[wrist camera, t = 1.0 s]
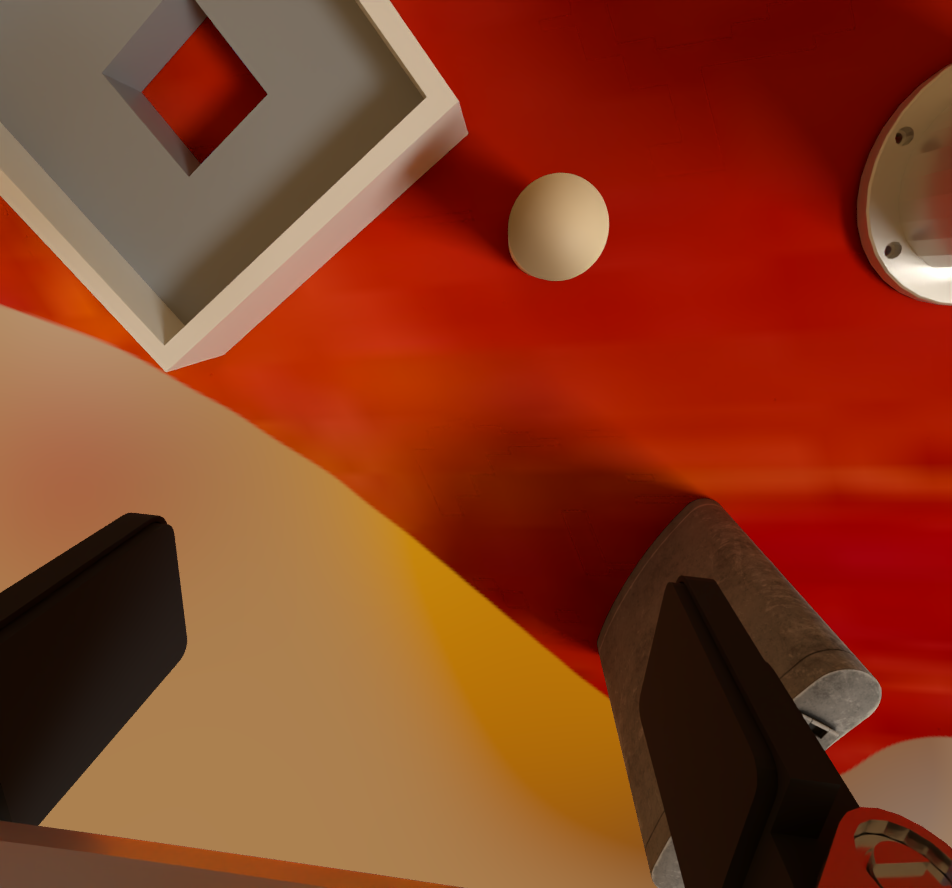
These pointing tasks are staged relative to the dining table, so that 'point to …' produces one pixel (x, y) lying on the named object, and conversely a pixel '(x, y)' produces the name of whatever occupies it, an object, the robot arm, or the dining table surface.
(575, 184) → the peg
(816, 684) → the flask
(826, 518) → the dining table surface
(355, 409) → the dining table surface
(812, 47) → the dining table surface
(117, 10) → the open top box
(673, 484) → the dining table surface
